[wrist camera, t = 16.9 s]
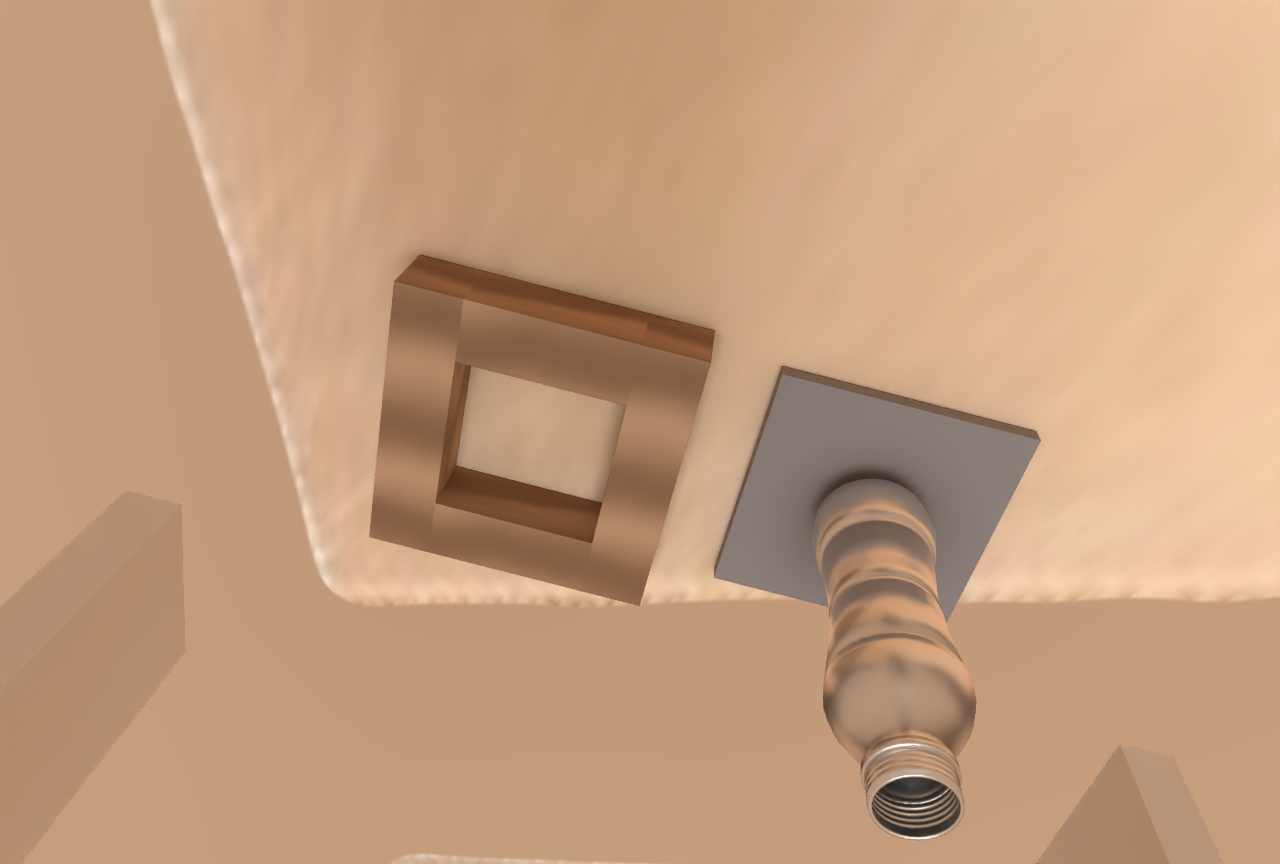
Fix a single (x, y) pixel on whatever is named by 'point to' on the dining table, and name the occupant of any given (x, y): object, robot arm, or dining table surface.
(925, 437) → the charcoal mat
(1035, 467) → the dining table surface
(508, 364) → the walnut block
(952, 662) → the plastic bottle
